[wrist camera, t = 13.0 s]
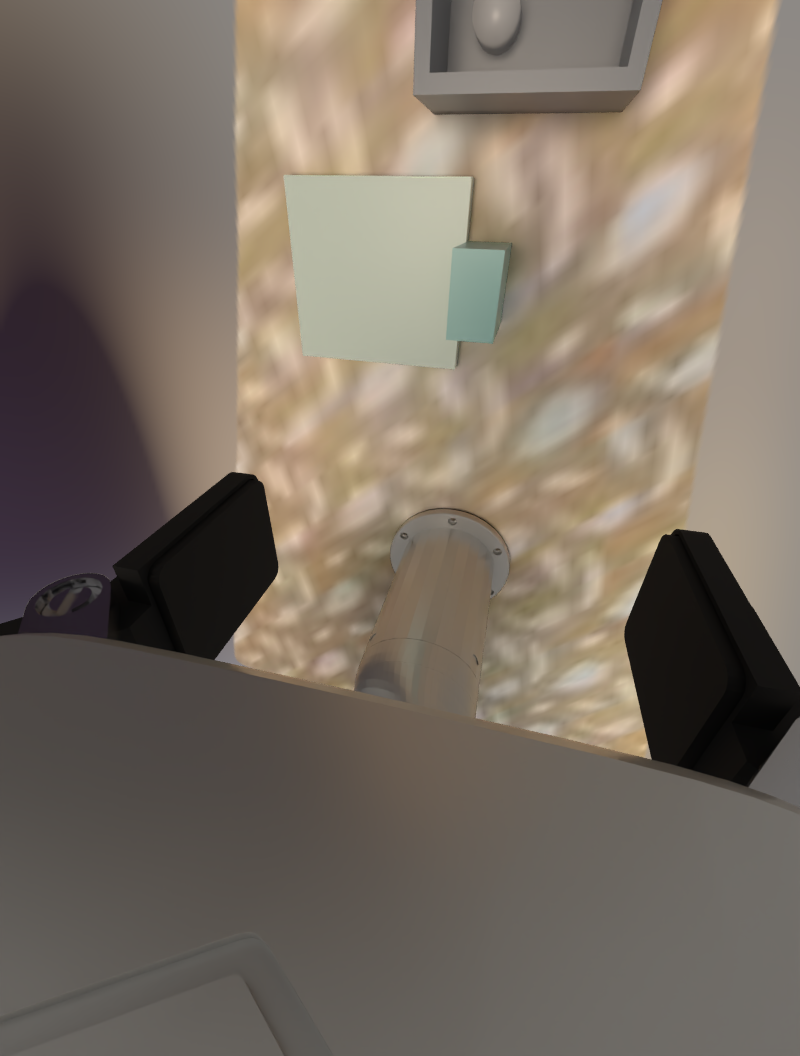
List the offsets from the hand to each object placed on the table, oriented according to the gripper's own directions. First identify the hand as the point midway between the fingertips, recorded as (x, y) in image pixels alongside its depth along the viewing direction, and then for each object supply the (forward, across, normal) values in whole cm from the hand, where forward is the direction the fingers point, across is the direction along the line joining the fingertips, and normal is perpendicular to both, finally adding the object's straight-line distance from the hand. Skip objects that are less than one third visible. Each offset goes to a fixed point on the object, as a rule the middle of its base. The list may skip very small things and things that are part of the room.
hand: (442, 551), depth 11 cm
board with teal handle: (+29, +8, -3) cm, 30 cm away
